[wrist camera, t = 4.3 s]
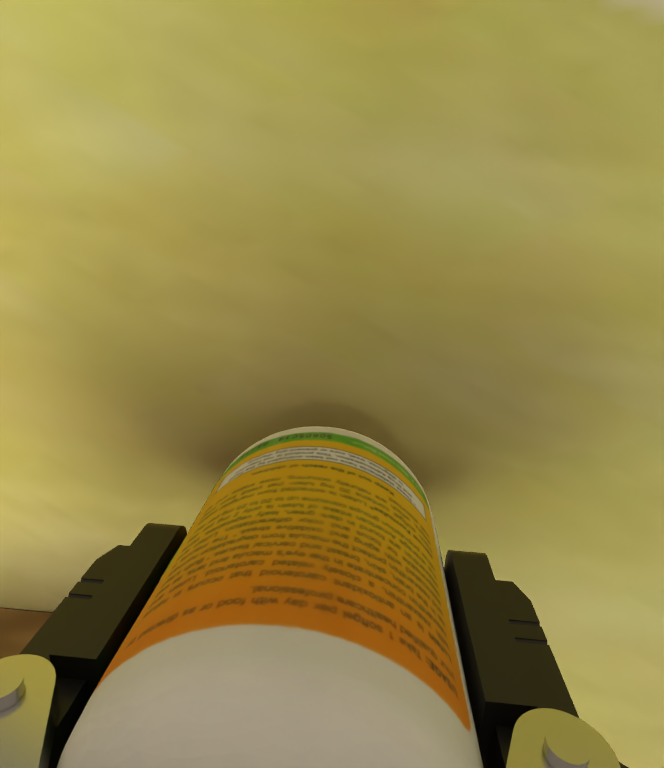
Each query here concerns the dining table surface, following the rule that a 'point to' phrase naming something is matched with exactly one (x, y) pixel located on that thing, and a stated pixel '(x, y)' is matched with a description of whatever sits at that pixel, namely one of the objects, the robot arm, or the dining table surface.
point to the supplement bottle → (293, 627)
